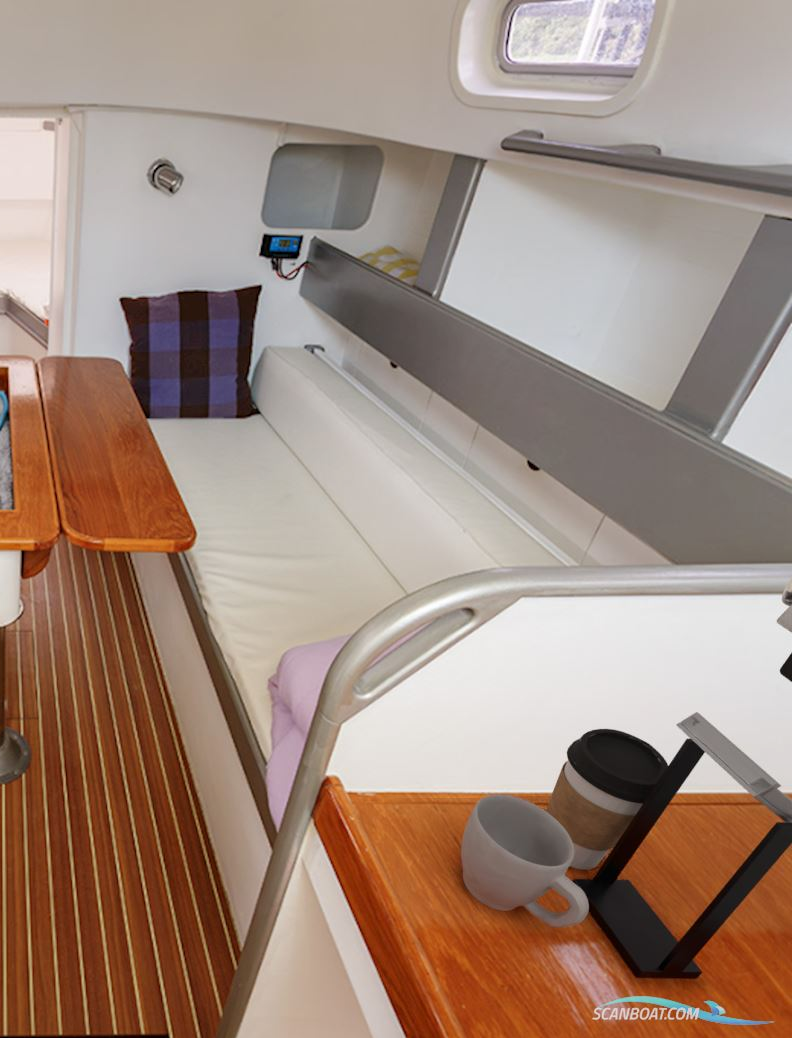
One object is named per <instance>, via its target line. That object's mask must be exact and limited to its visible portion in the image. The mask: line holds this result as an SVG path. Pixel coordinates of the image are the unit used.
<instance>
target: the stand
mask: <svg viewBox="0 0 792 1038" xmlns="http://www.w3.org/2000/svg"><path fill="white" fill-rule="evenodd" d="M705 753H706V752H705V751H703V750H702V749H701V748H700V747H699V746H698V745H697V744H696V743H695V742H694V741H693V740H692V739H691V738H686V739H685V741H684V742H683V743H682V745H681V746H680V748H679V749H678V751H677V752H676V754H675V755H674V756H673V758H672V760H671V761H670V763H669V764H668V767H667V769H666V770H665V772H664V773H663V775H662V776H661V778H660V779H659V781H658V782H657V784H656V785H655V787H654V788H653V790H652V791H651V793H650V794H649V796H648V797H647V799H646V800H645V802H644V803H643V805H642V806H641V808H640V809H639V810H638V812H637V813H636V815H635V816H634V818H633V819H632V821H631V822H630V824H629V825H628V827H627V828H626V830H625V831H624V833H623V834H622V836H621V837H620V839H619V840H618V842H617V843H616V845H615V846H614V847H613V848H611V850H610V851H609V854H608V855H607V857H606V858H605V859H604V861H603V863H602V864H601V866H600V867H599V868H598V870H597V872H596V873H595V874H594V876H593V878H573V880H571V881H572V882H573V883H575V884H576V885H577V886H578V887H580V888H581V889H582V890H583V892H584V893H585V895H586V897H587V899H588V904H589V911H588V913H589V914H590V916H591V917H592V918H593V920H594V921H595V923H596V924H597V925H598V927H599V928H600V930H601V931H602V932H603V934H604V935H605V936H606V938H607V939H608V941H609V942H610V943H611V945H612V947H614V949H615V951H616V952H617V954H618V955H619V956H620V957H621V959H622V960H623V961H624V963H625V965H627V967H628V969H629V970H630V971H631V973H632V974H633V975H634V977H635V978H636V979H675V980H676V979H681V980H682V979H683V980H684V979H687V980H697V979H698V978H699V977H700V976H701V975H702V973H703V971H702V970H701V968H700V967H699V966H698V964H697V963H696V962H695V960H694V959H695V958H696V957H697V955H698V954H699V953H700V952H701V951H702V949H703V948H704V947H705V946H706V945H707V943H708V942H709V941H710V940H711V939H712V938H713V936H715V934H716V933H717V932H718V930H720V928H721V927H722V926H723V925H724V924H725V922H726V921H727V920H728V919H729V918H730V917H731V916H732V914H733V913H734V912H735V911H736V910H737V908H738V907H739V906H740V905H741V904H742V903H743V901H744V900H745V899H746V898H747V896H748V895H749V894H750V893H751V892H752V891H753V890H754V888H756V886H757V885H758V884H759V883H760V881H761V880H762V879H763V878H764V877H765V876H766V875H767V873H768V872H769V871H770V870H771V869H772V867H773V866H774V865H775V864H776V863H777V862H778V860H779V859H780V858H781V857H782V856H783V854H784V853H785V852H786V851H787V850H788V849H789V847H790V846H791V845H792V823H791V822H785V821H777V822H775V823H774V825H773V826H772V827H771V828H770V830H769V831H768V832H767V833H766V834H765V836H764V837H763V838H762V839H761V840H760V842H759V843H758V844H757V846H756V847H755V848H754V849H753V850H752V852H751V853H750V854H749V855H748V857H746V859H745V860H744V861H743V863H741V865H740V866H739V867H738V869H737V870H736V871H735V872H734V874H733V875H732V876H731V877H730V879H729V880H728V881H727V882H726V883H725V885H724V886H723V887H722V888H721V889H720V891H718V893H717V894H716V895H715V897H714V898H713V899H712V900H711V901H710V903H709V904H708V906H706V908H705V909H704V910H703V912H702V913H701V914H700V915H699V916H698V917H697V919H695V921H694V923H693V924H692V925H691V926H690V927H689V928H688V929H687V931H686V932H685V933H684V935H683V936H682V937H681V938H680V939H679V941H678V939H677V938H676V937H675V935H674V934H673V933H672V932H671V930H669V928H668V927H667V925H666V924H665V923H664V922H663V921H662V920H661V918H660V916H658V914H657V913H656V912H655V911H654V909H653V908H652V907H651V905H650V904H649V903H648V902H647V900H646V899H645V898H644V897H643V895H641V893H640V892H639V891H638V890H637V888H636V886H635V885H633V883H632V882H631V881H630V879H618V878H619V876H620V875H621V874H622V872H623V871H624V869H625V868H626V866H627V865H628V863H629V862H630V861H631V859H632V858H633V856H634V855H635V853H636V852H637V851H638V850H639V848H640V846H641V845H642V843H643V842H644V840H645V839H646V838H647V836H648V835H649V833H650V832H651V830H652V829H653V828H654V826H655V825H656V823H657V822H658V820H659V819H660V818H661V816H662V815H663V813H664V812H665V811H666V809H667V808H668V806H669V805H670V803H671V801H672V800H673V799H674V797H675V796H676V795H677V793H678V791H679V790H680V789H681V787H682V786H683V785H684V783H685V781H686V780H687V779H688V777H689V776H690V774H691V773H692V771H693V770H694V769H695V768H696V766H697V765H698V763H699V761H700V760H701V759H702V758H703V756H704V754H705Z"/></svg>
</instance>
